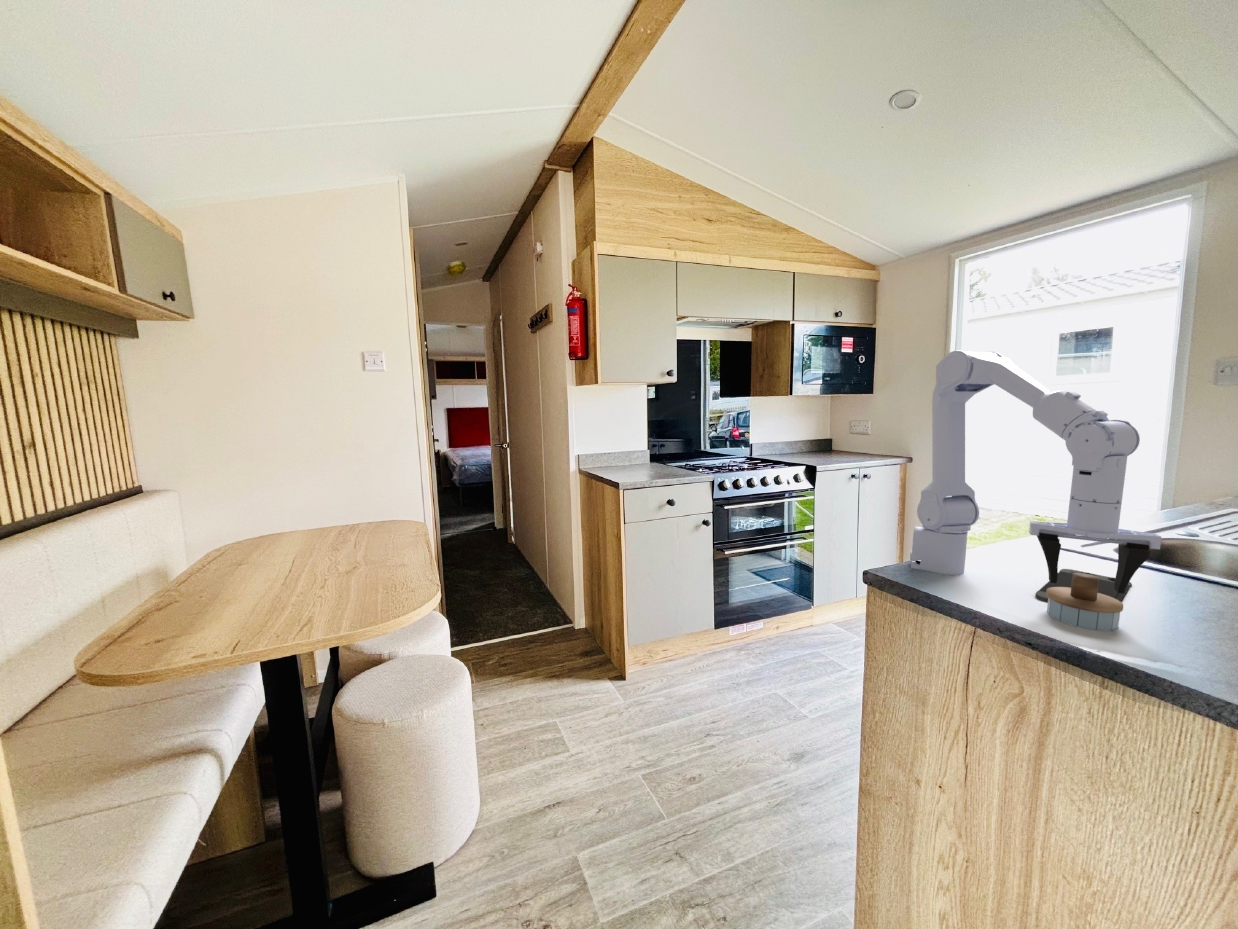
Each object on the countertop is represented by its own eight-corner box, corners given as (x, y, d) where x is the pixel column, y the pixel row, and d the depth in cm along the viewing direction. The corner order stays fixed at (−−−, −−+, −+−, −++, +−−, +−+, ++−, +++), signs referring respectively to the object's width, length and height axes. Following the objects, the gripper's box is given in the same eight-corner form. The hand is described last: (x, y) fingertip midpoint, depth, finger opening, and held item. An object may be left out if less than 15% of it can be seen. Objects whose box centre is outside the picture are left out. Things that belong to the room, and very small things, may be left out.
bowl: (1051, 626, 77) (1053, 604, 77) (1043, 608, 84) (1045, 588, 83) (1123, 639, 73) (1126, 616, 72) (1109, 620, 79) (1111, 599, 79)
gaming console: (1063, 566, 101) (1133, 580, 94) (1062, 572, 101) (1132, 586, 94) (1033, 593, 86) (1114, 612, 78) (1032, 600, 86) (1113, 620, 79)
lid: (1053, 605, 76) (1055, 579, 76) (1040, 587, 84) (1042, 563, 83) (1132, 617, 72) (1136, 590, 71) (1111, 597, 79) (1114, 572, 79)
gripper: (1037, 499, 77) (1028, 584, 78) (1173, 510, 68) (1160, 605, 70) (1031, 492, 82) (1023, 571, 84) (1156, 502, 74) (1144, 589, 76)
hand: (1085, 586), depth 77 cm, fingers open, 7 cm apart
